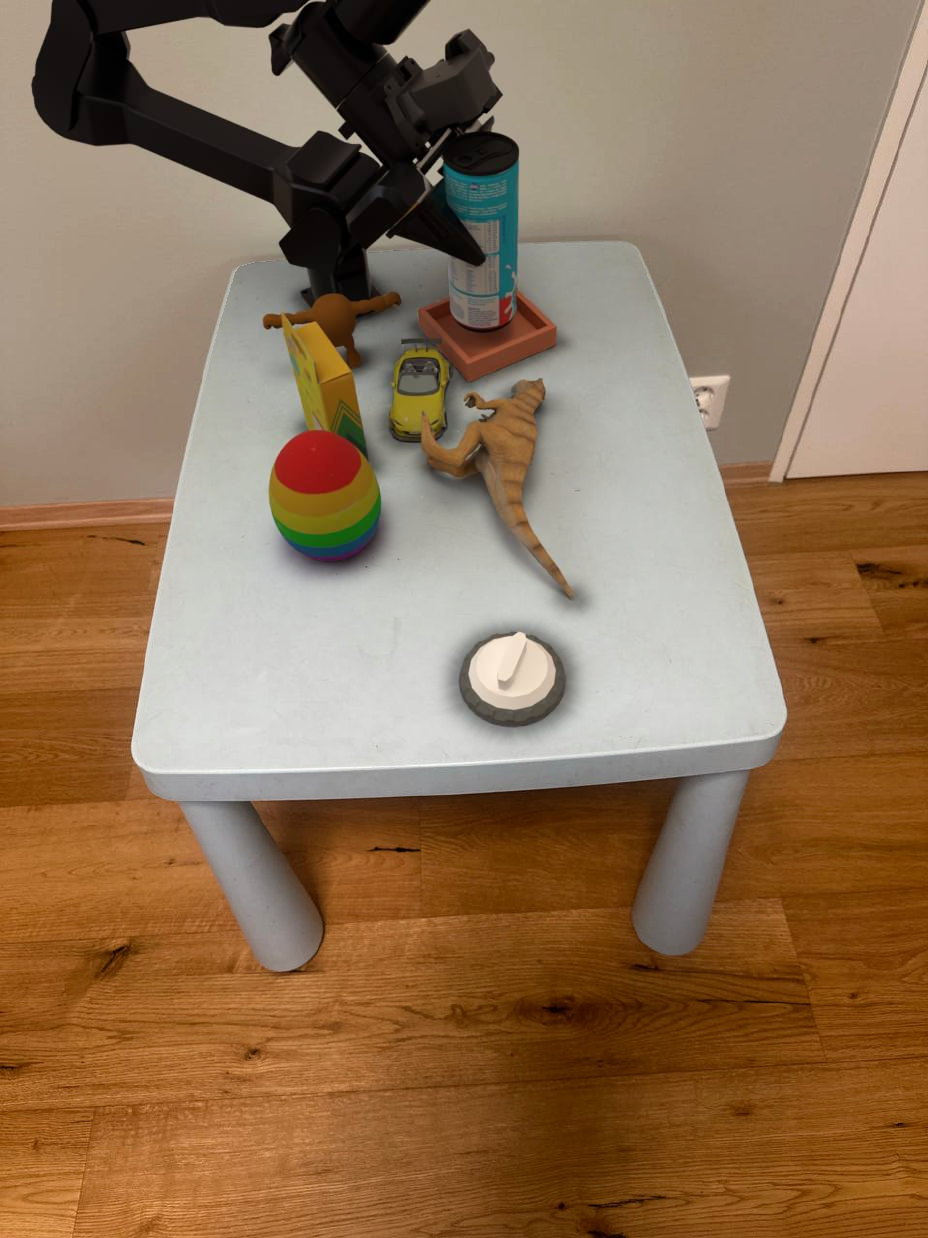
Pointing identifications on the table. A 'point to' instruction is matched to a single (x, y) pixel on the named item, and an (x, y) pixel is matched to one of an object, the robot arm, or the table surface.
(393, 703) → the table surface
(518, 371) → the table surface
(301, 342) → the crayon box
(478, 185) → the beverage can
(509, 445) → the dinosaur figurine
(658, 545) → the table surface
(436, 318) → the tray
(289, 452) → the decorative egg
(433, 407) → the toy car
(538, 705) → the stove knob
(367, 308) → the toy figurine
